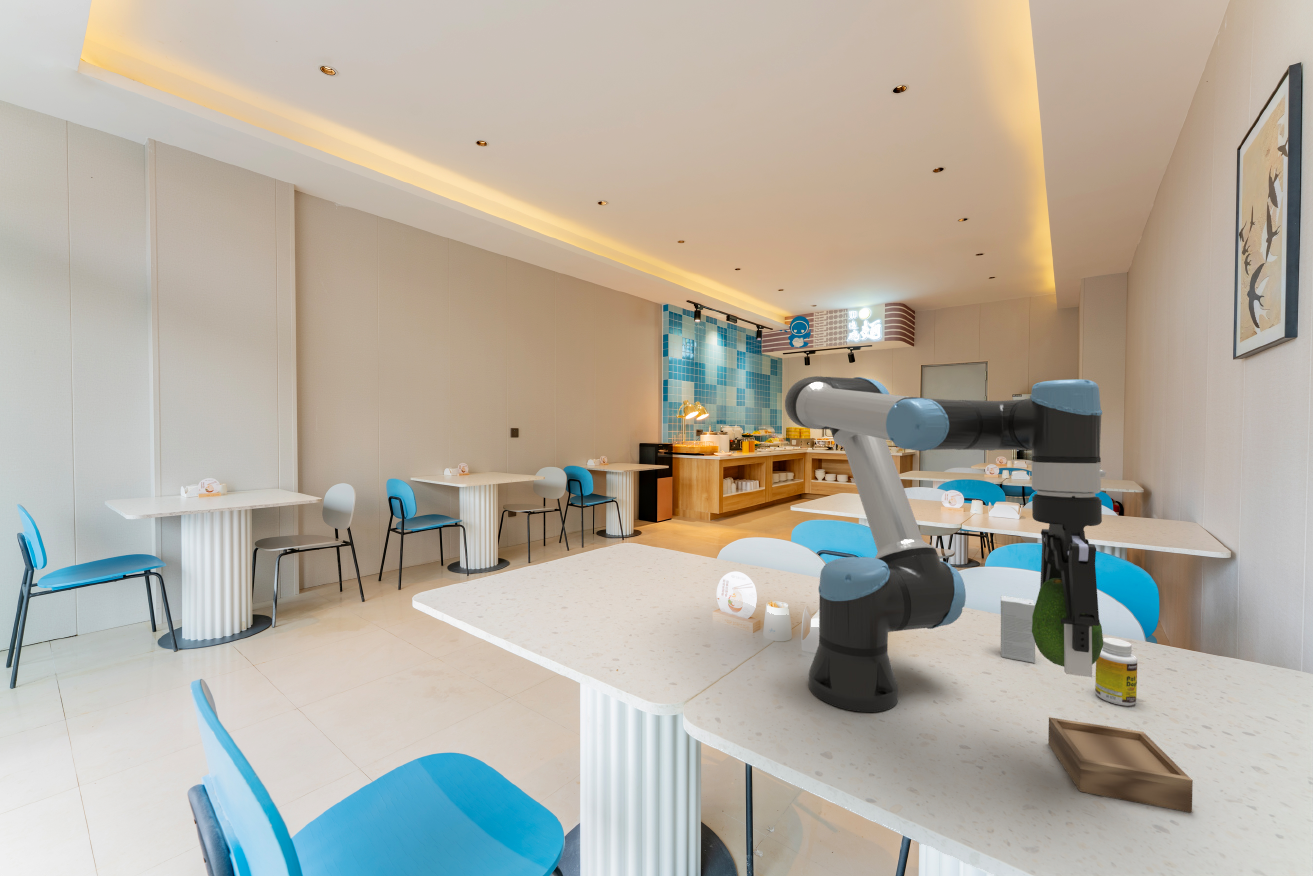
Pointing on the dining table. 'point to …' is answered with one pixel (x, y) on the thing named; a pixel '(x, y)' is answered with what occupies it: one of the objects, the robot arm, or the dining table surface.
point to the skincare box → (1017, 629)
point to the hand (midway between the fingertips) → (1067, 661)
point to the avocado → (1056, 623)
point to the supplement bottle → (1116, 673)
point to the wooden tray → (1119, 764)
